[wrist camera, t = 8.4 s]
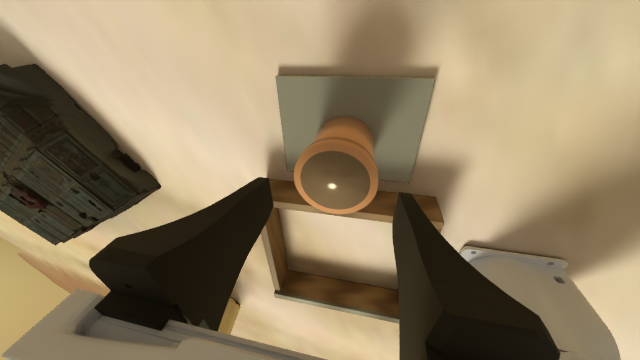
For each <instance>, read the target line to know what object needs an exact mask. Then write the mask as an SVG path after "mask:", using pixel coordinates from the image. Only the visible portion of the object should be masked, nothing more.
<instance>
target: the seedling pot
mask: <svg viewBox="0 0 640 360" xmlns="http://www.w3.org/2000/svg"><path fill="white" fill-rule="evenodd" d="M374 146H375V142H374V136H373V134H372V132H371V130H370V128H369V127H368V126H367V125H366V124H365V123H364V122H362V121H361V120H359V119H357V118H354V117H350V116H339V117H335V118H332V119H330V120H329V121H327V122H326V123H325V124H324V125H323V126H322V127H321V128H320V130H319V132H318V134H317V135H316V137H315V139H314V141H313V143H311V144H310V145H309V146H308V147H307V148H306V149H305V150H304V151H303V152H302V154H301V156H300V157H299V159H298V161H297V163H296V165H295V168H294V182H295V186H296V188H297V190H298V192H299V193H300V195H301V196H302V197H303V199H304V200H305V201H306V202H308V203H309V204H310V205H312V206H313V207H315V208H317V209H319V210H321V211H324V212H327V213H332V214H349V213H353V212H356V211H359V210H361V209H362V208H364V207H366V206H367V205H368V204H369V203H370V202H371V201H372V200H373V198H374V197H375V195H376V192H377V189H378V168H377V164H376V162H375V160H374Z"/></svg>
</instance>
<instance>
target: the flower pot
mask: <svg viewBox="0 0 640 360" xmlns="http://www.w3.org/2000/svg"><path fill="white" fill-rule="evenodd" d="M239 309H240V307H239V304H236V303H235V301H234V300H233V299H232V298H229V301H228V304H227V306H226V309H225V312H224V315H223V318H222V320H221V323H220V326H219V329H218V332H220V333H224V334H228V335H230V334H231V331H232V328H233V325H234V322H235V320H236V317H237V314H238V311H239Z"/></svg>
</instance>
